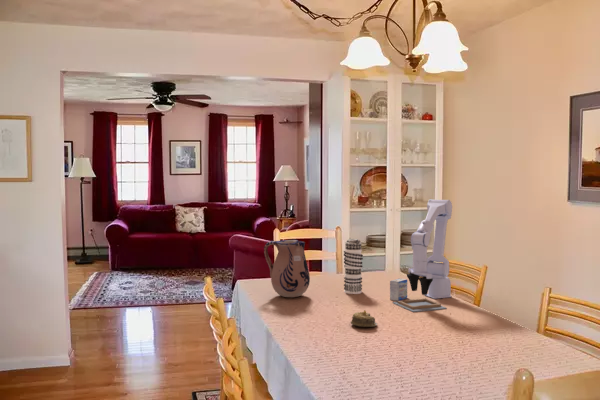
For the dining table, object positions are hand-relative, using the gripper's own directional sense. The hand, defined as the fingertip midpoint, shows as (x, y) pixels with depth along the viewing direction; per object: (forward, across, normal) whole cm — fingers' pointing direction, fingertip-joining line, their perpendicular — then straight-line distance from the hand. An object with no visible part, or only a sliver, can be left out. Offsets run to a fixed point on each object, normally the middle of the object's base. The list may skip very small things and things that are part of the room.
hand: (419, 292), depth 219 cm
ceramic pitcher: (+6, -37, -46) cm, 60 cm away
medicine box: (+6, -14, -2) cm, 15 cm away
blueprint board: (+6, 0, 0) cm, 6 cm away
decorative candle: (+6, -34, -14) cm, 37 cm away
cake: (+6, +16, -35) cm, 39 cm away
